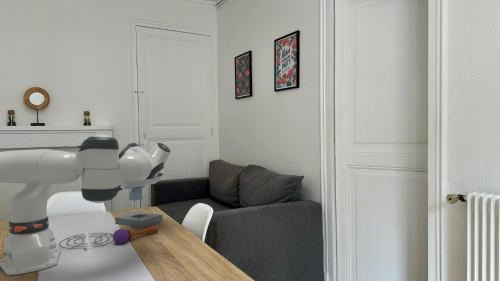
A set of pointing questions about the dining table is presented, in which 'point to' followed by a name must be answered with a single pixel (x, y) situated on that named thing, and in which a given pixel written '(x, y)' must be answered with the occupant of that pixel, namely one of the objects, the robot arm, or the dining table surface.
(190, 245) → the dining table surface
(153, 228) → the purple maraca
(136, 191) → the servo
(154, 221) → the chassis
